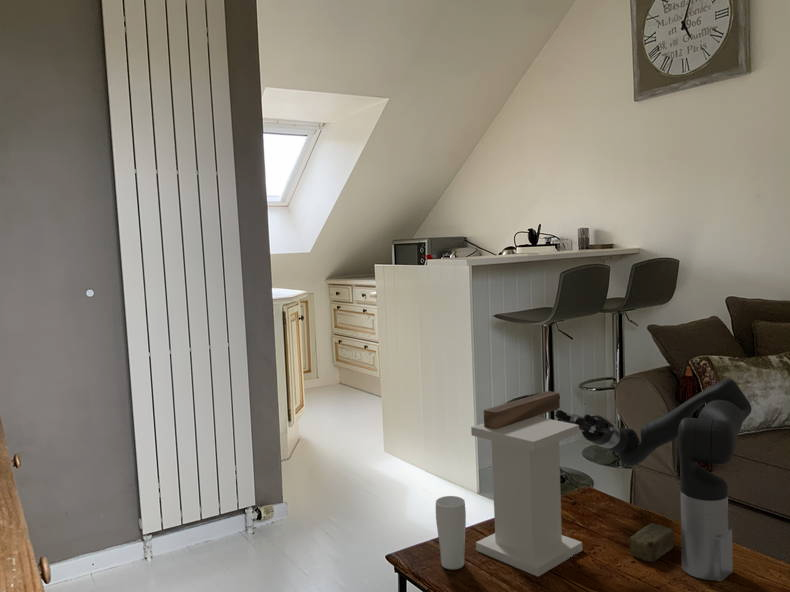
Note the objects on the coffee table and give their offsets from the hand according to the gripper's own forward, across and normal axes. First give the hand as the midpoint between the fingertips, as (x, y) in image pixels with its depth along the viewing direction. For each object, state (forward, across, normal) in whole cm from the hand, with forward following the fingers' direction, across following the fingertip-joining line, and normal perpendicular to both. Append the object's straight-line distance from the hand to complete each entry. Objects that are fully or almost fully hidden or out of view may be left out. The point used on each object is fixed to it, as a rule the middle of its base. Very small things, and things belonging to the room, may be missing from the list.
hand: (571, 415), depth 173 cm
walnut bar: (+19, 0, -6) cm, 20 cm away
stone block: (-6, -25, -27) cm, 38 cm away
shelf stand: (+10, -4, -36) cm, 37 cm away
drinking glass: (+26, +4, -44) cm, 51 cm away
